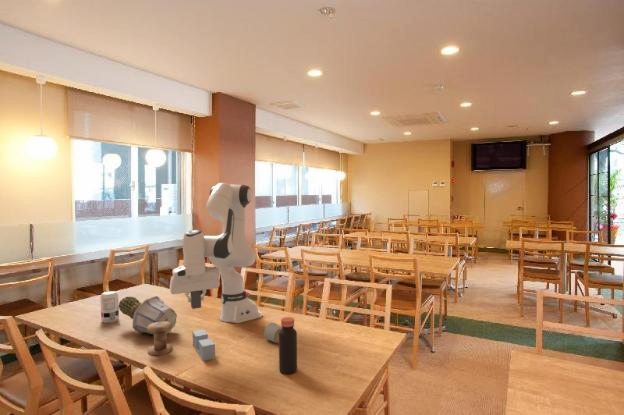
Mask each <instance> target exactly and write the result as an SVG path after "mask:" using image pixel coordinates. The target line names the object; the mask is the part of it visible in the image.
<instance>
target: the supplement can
mask: <svg viewBox="0 0 624 415" xmlns="http://www.w3.org/2000/svg"><path fill="white" fill-rule="evenodd" d="M118 306H119V293H118V292H117V291H116V290H109V291H104V292H102V293H101V295H100V318H101V322H102V323H103V324H111V323H115V322H117V321H118V320H119V318H120V313H119V312H120V309H119V307H118Z"/></svg>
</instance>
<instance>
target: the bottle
mask: <svg viewBox="0 0 624 415" xmlns="http://www.w3.org/2000/svg"><path fill="white" fill-rule="evenodd" d="M280 324H281V325H280V326H281V327H282V329H281V330H280V332H279V343H278V356H279V358H278V362H279V363H278V366H279V367H278V369H279V372H280V373H281V374H283V375H292V374H295V373H296V372H297V371H298V342H297V341H298V338H297V336H298V333H297V330H296V329H295V328H294V326H295V317H290V316H285V317H282V318H281V320H280Z"/></svg>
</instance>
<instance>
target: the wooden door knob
mask: <svg viewBox="0 0 624 415" xmlns="http://www.w3.org/2000/svg"><path fill="white" fill-rule="evenodd" d="M170 328H172V323H171V322H167V321H161V322H155V323H152V324H150V325H148V326H147V330H148V331H150V332H154V335H153V345H152V346H150V347H148V349H147V354H148V355H149V356H163V355H166V354H169V353H171V352H172V351H173V350H174V349H173V348H174V346H173V344H171V343H167V335H166V330H169V329H170ZM172 329H173V328H172Z"/></svg>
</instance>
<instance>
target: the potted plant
mask: <svg viewBox="0 0 624 415" xmlns="http://www.w3.org/2000/svg"><path fill="white" fill-rule="evenodd" d="M118 305H119V306H118V307H119V312H121V313H122V315H126V316H127V317H129V318H130V320H132V324H131V325H132V329H133V330H134V331H135V332H137V334H144V333H147V334H149V335H153V336H154V332H150V331H148V330H147V326H148V325H150V324H152V323H155V322H161V321H167V322H171V323H172V328H170V329H169V330H166V336H167V335H168V334H169V333H170V332H172V329H173V328H174V327H175V326H176V324H177V317H178V313H176V312H175V310H174V309H173V308H171V307H169V306H168V305H166V304H165V302H164V300H162V299H161V298H160V296H157V295H156V296H152V297H149V298H147V299H144V300H143V302H140V300H139V299H137V297H134V296H125V297H124V298H122V299H120V300H119V301H118Z"/></svg>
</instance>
